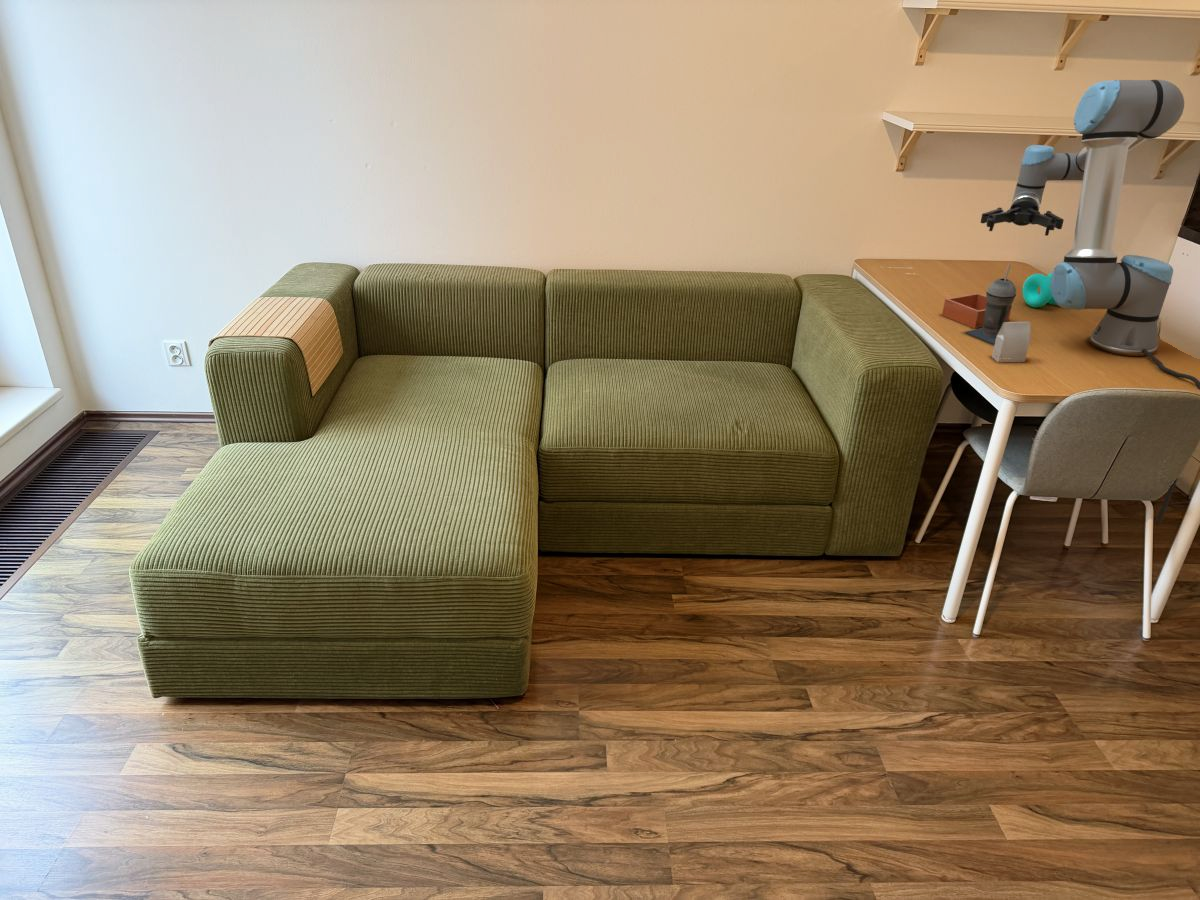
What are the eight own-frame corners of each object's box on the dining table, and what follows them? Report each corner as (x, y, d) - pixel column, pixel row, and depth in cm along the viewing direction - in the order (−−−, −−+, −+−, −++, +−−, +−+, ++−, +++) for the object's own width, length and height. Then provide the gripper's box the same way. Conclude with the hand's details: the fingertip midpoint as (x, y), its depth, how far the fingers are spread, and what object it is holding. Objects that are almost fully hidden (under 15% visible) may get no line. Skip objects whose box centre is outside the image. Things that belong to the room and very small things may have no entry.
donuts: (1068, 308, 238) (1077, 275, 234) (1041, 312, 236) (1049, 279, 231) (1043, 298, 247) (1052, 266, 242) (1016, 302, 244) (1024, 270, 240)
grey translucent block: (1024, 361, 204) (1034, 324, 199) (998, 362, 203) (1007, 325, 199) (1017, 356, 207) (1027, 319, 202) (991, 356, 207) (1000, 320, 202)
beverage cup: (1001, 330, 222) (1017, 259, 213) (1010, 339, 216) (1027, 266, 206) (973, 329, 223) (989, 258, 213) (982, 339, 217) (998, 266, 207)
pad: (1018, 339, 217) (1019, 338, 217) (993, 345, 214) (994, 343, 214) (989, 328, 225) (990, 326, 225) (965, 333, 222) (965, 331, 222)
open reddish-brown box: (1008, 321, 229) (1012, 305, 227) (974, 328, 225) (978, 311, 223) (974, 309, 240) (977, 293, 237) (941, 315, 235) (945, 298, 233)
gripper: (1070, 226, 226) (1068, 246, 210) (974, 219, 237) (966, 238, 221) (1076, 199, 222) (1075, 217, 206) (979, 193, 233) (971, 210, 217)
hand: (1019, 228), depth 213 cm, fingers open, 13 cm apart
